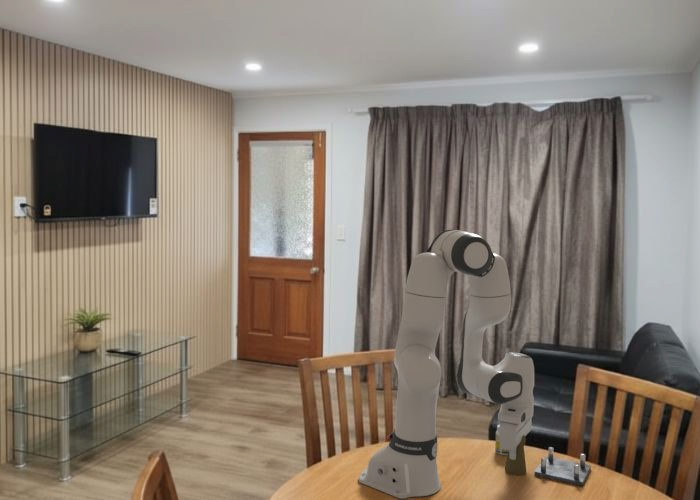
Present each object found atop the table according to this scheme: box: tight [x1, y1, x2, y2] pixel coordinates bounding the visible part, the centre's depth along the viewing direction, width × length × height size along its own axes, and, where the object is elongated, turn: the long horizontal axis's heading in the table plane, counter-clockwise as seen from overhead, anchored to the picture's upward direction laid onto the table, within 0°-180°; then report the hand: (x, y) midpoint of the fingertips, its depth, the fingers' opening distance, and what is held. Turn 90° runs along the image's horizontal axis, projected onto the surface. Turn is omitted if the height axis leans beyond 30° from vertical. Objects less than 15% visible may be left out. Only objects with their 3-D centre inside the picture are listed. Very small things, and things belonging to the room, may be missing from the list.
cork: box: [504, 435, 527, 476], centre depth 178 cm, size 6×6×11 cm
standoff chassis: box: [533, 446, 592, 487], centre depth 177 cm, size 13×13×5 cm
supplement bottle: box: [495, 423, 508, 456], centre depth 191 cm, size 5×5×8 cm
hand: (516, 455), depth 178 cm, fingers closed on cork, 4 cm apart
